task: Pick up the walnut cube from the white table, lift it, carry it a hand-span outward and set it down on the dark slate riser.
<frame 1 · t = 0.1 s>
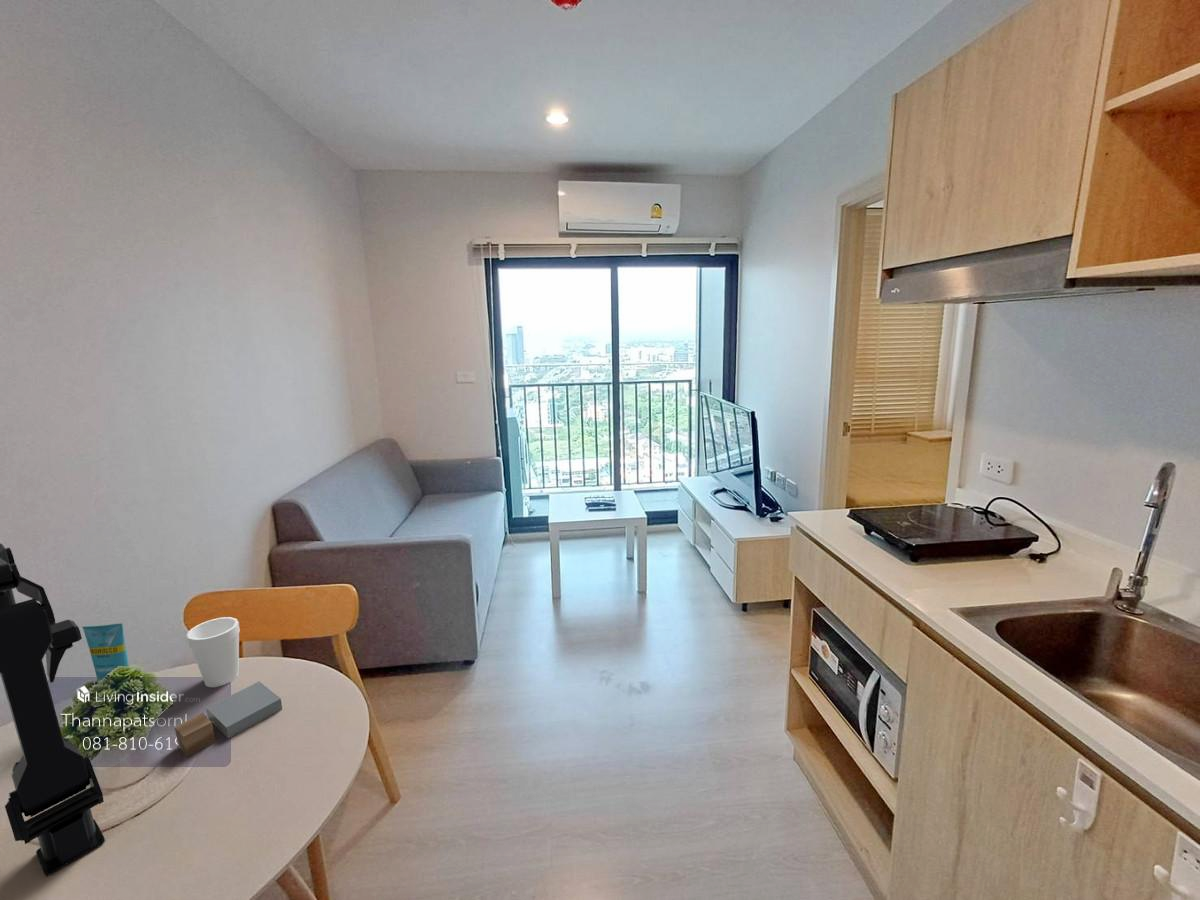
hand: (14, 695, 90), 15 cm above the table, fingers open, 9 cm apart
tube: (120, 705, 109), on the table
foam cup: (222, 679, 118), on the table
walnut cube: (197, 744, 98), on the table
slate riser: (245, 713, 106), on the table
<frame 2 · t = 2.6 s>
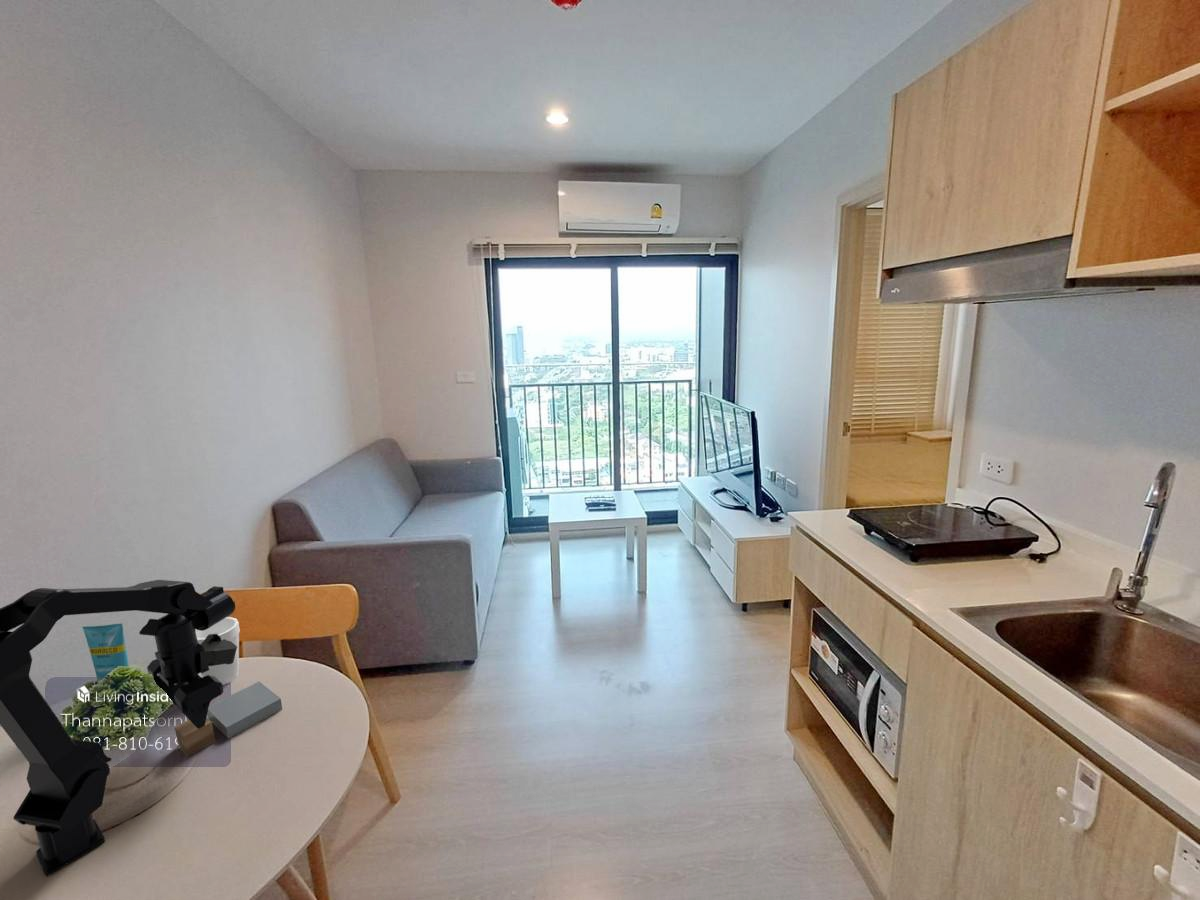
hand: (191, 717, 97), 6 cm above the table, fingers open, 9 cm apart
nothing on the table moved.
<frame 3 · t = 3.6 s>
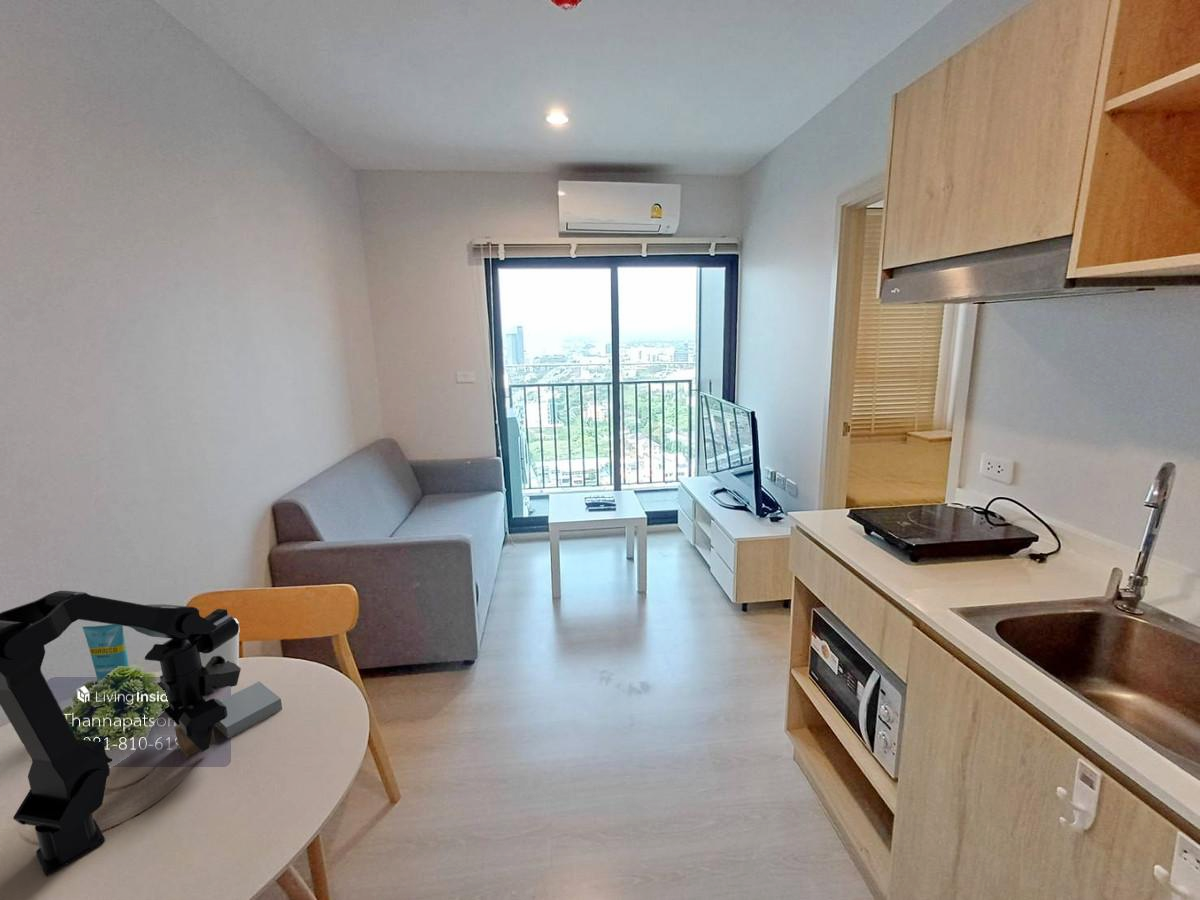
hand: (196, 739, 98), 1 cm above the table, fingers open, 9 cm apart
nothing on the table moved.
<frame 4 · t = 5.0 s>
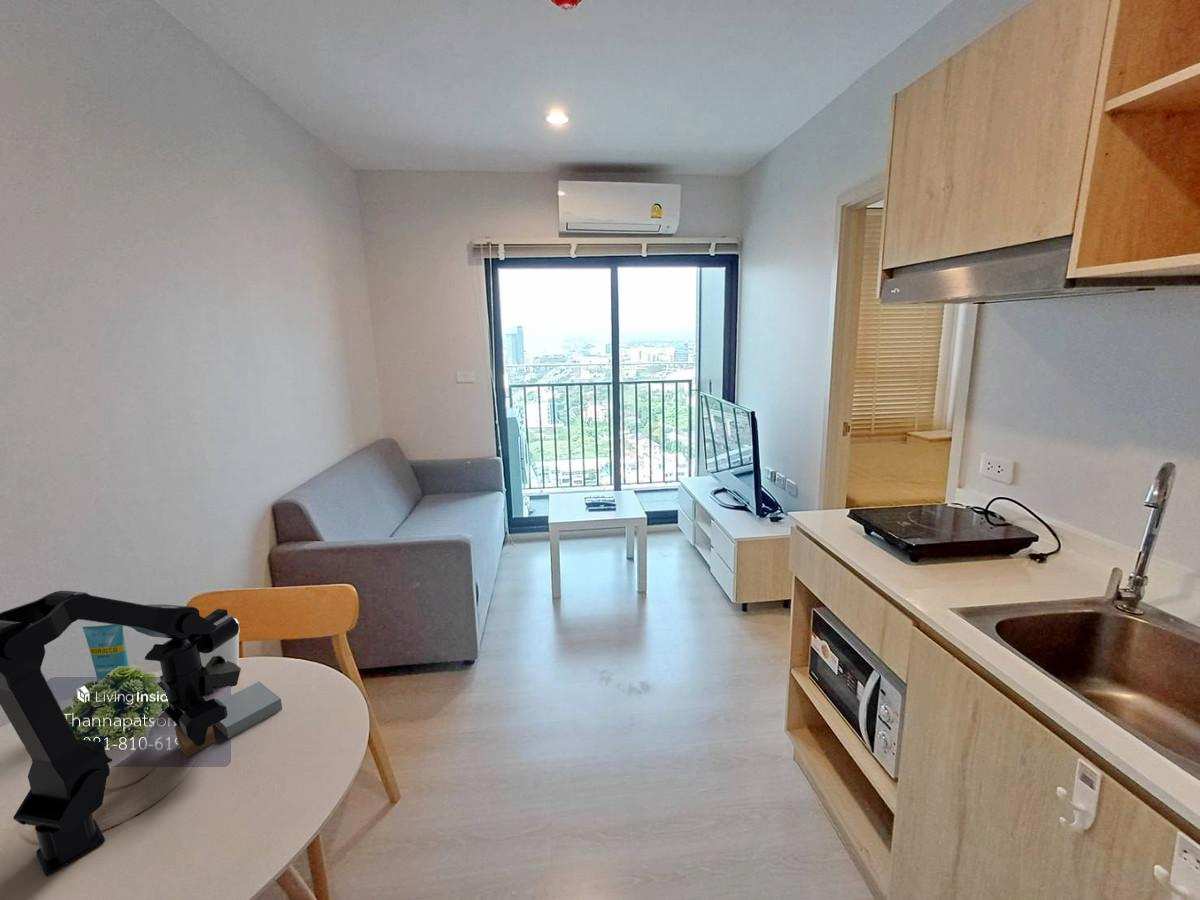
hand: (196, 739, 98), 1 cm above the table, fingers closed on walnut cube, 4 cm apart
walnut cube: (197, 743, 98), on the table, touching gripper
everything else where it was.
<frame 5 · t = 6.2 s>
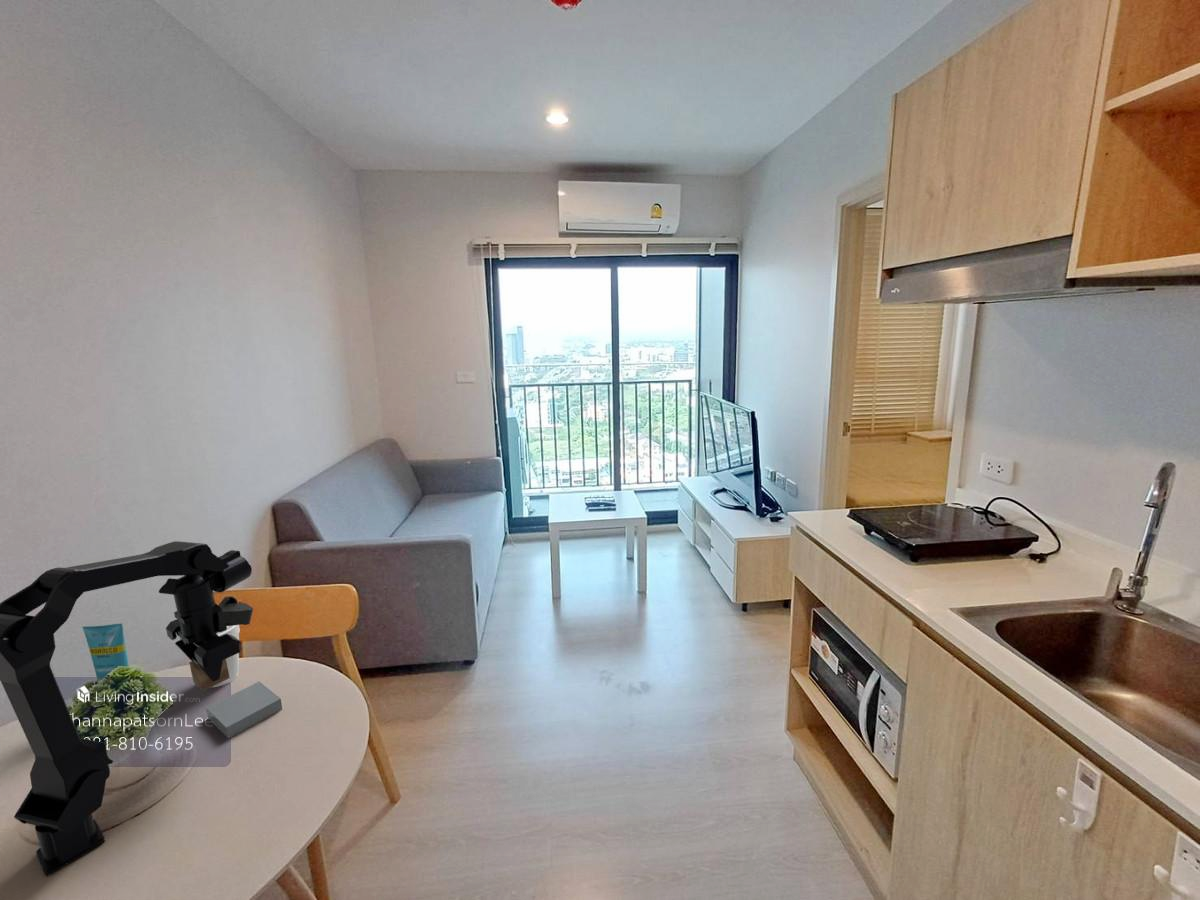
hand: (210, 675, 100), 12 cm above the table, fingers closed on walnut cube, 4 cm apart
walnut cube: (211, 680, 100), point 11 cm above the table, touching gripper
everything else where it was.
when the fingers open (5 cm above the table, at t = 7.9 s): walnut cube drops 2 cm, resting on slate riser.
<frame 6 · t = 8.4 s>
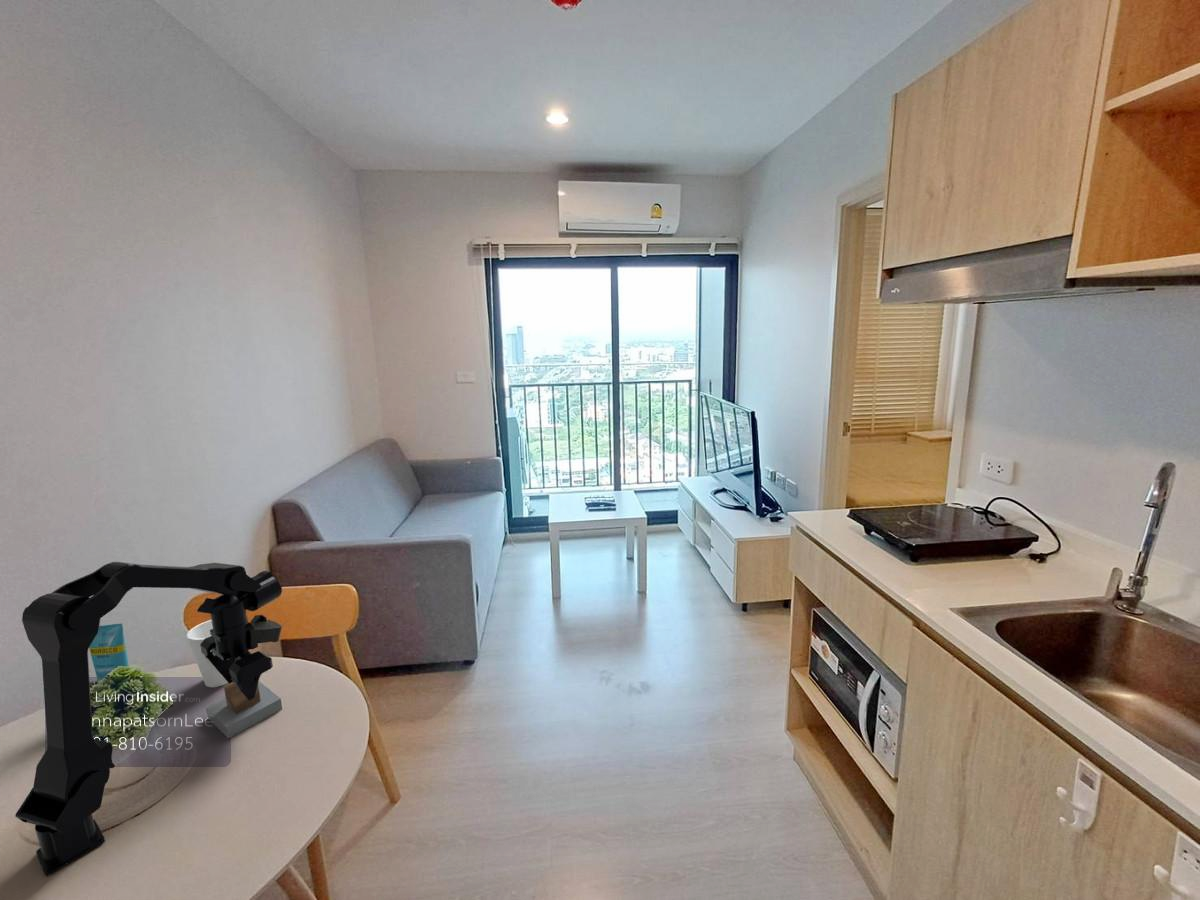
hand: (241, 690, 105), 5 cm above the table, fingers open, 9 cm apart
walnut cube: (243, 703, 106), point 2 cm above the table, touching slate riser
everything else where it was.
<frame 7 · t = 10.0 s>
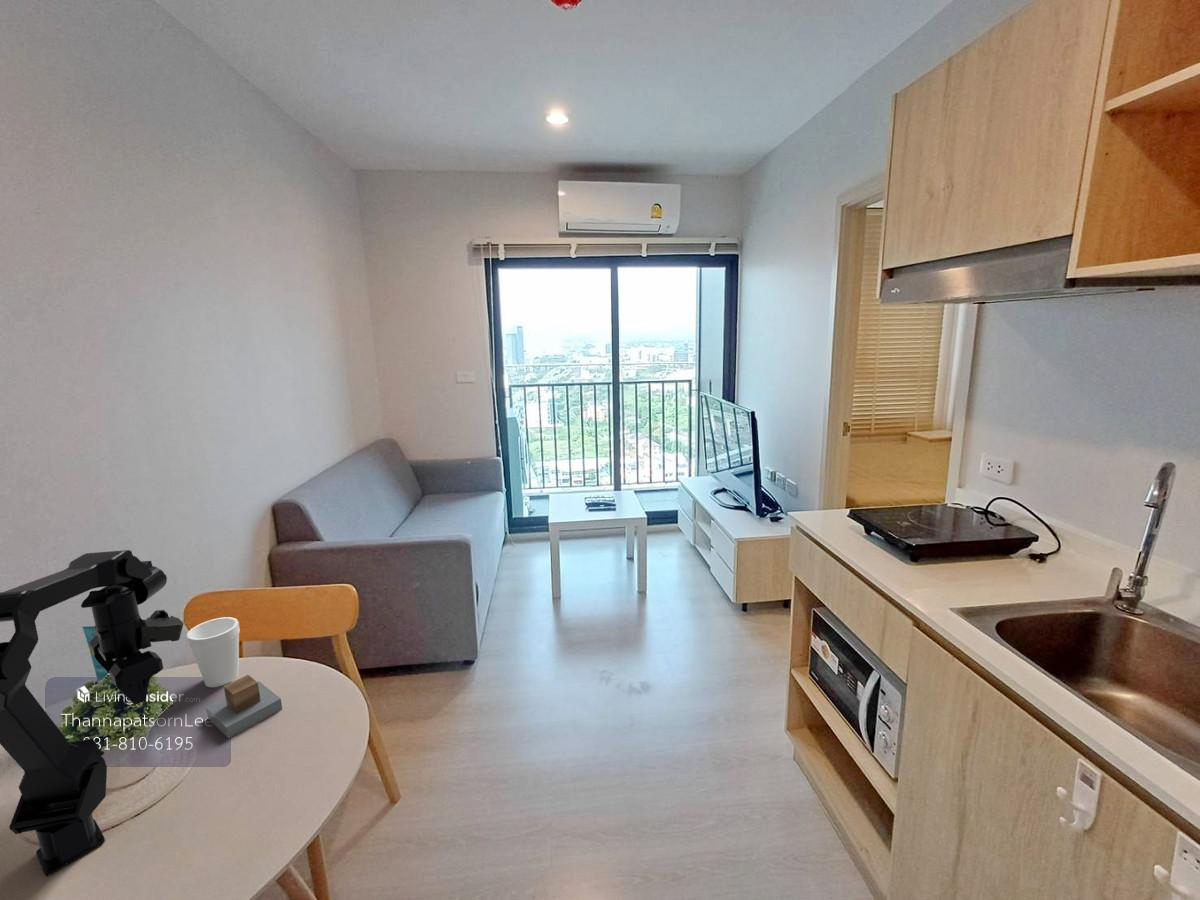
hand: (133, 695, 93), 13 cm above the table, fingers open, 9 cm apart
nothing on the table moved.
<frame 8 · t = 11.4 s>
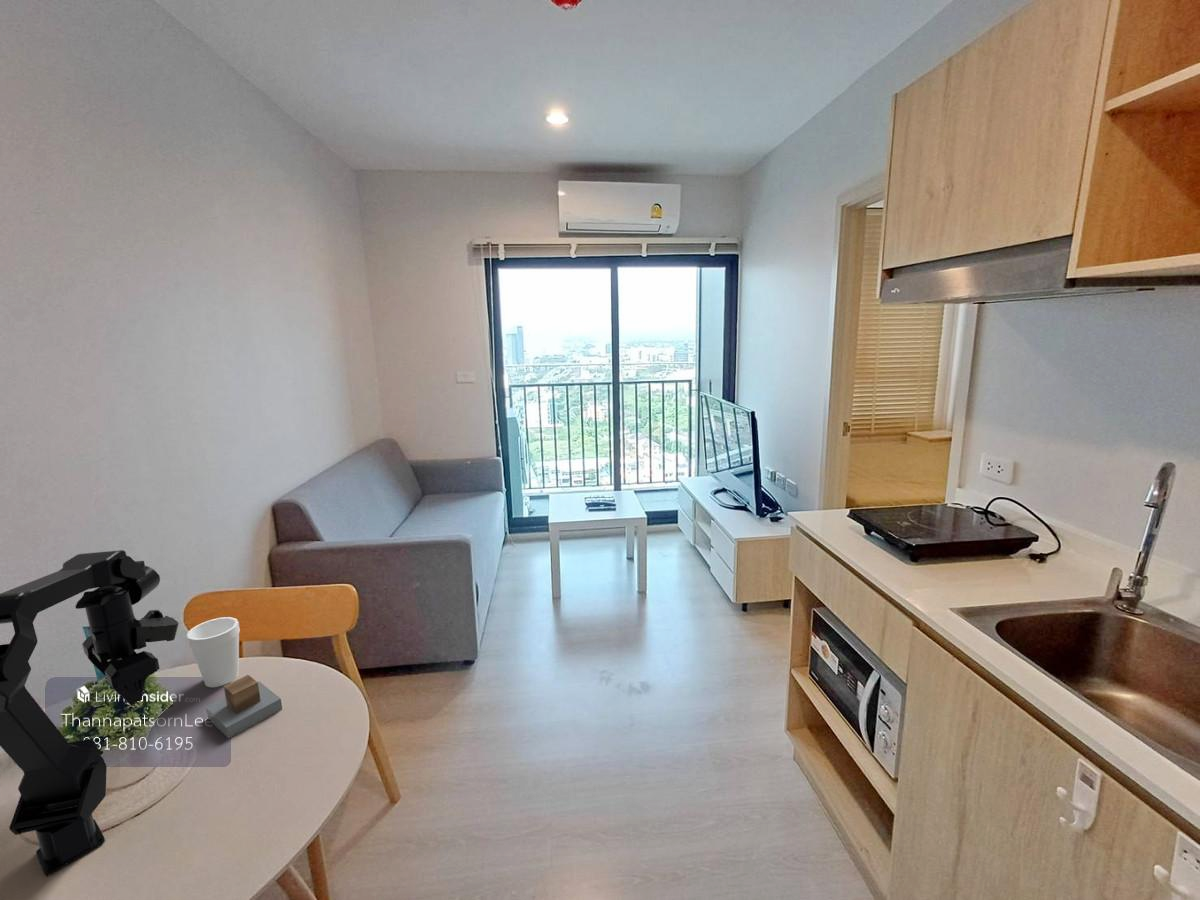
hand: (128, 695, 93), 13 cm above the table, fingers open, 9 cm apart
nothing on the table moved.
at the end: walnut cube inside the target area on the slate riser (0.1 cm from its centre), point 2.5 cm above the slate riser's base; walnut cube tilted 0°; the gripper is holding nothing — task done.
